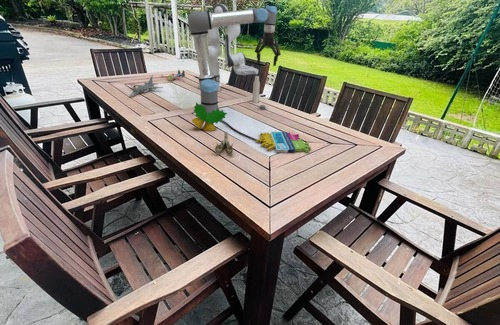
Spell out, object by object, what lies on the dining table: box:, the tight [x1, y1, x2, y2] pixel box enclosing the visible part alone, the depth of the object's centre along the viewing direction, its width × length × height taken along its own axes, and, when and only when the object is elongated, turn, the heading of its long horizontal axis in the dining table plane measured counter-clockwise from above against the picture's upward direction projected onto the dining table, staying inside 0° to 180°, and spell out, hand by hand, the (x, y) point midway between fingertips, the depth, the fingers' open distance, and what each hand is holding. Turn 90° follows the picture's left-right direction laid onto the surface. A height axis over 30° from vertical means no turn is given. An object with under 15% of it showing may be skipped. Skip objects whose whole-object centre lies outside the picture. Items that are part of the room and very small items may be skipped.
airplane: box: [127, 74, 164, 98], centre depth 226 cm, size 38×31×10 cm
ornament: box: [191, 102, 228, 132], centre depth 162 cm, size 21×8×15 cm, turn 105°
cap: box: [259, 104, 266, 111], centre depth 207 cm, size 4×4×2 cm
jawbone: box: [214, 131, 234, 156], centre depth 136 cm, size 9×15×10 cm
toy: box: [160, 69, 186, 82], centre depth 279 cm, size 28×7×30 cm
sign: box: [255, 131, 312, 154], centre depth 152 cm, size 26×2×30 cm
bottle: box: [251, 75, 261, 103], centre depth 218 cm, size 6×6×21 cm
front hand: (266, 64), depth 191 cm, fingers open, 13 cm apart
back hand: (251, 73), depth 222 cm, fingers open, 8 cm apart
